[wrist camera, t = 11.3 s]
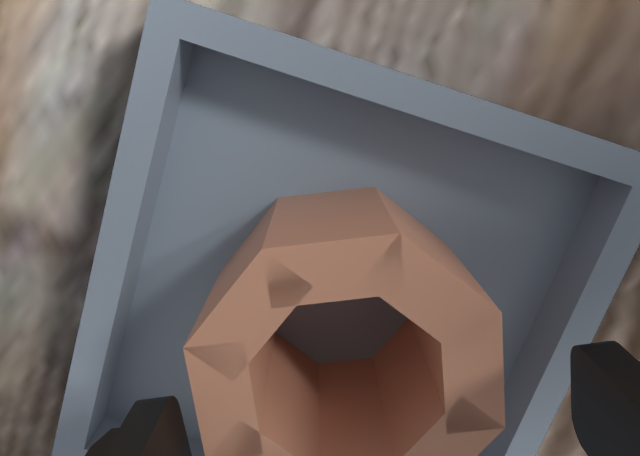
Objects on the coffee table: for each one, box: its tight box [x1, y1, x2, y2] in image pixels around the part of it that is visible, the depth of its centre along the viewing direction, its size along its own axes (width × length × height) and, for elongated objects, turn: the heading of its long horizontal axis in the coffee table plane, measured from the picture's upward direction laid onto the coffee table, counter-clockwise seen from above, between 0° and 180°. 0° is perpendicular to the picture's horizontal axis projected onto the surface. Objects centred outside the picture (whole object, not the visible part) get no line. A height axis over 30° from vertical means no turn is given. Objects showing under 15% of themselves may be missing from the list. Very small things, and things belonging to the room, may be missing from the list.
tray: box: [51, 0, 640, 456], centre depth 15 cm, size 13×13×2 cm
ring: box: [183, 187, 505, 456], centre depth 13 cm, size 6×6×4 cm
